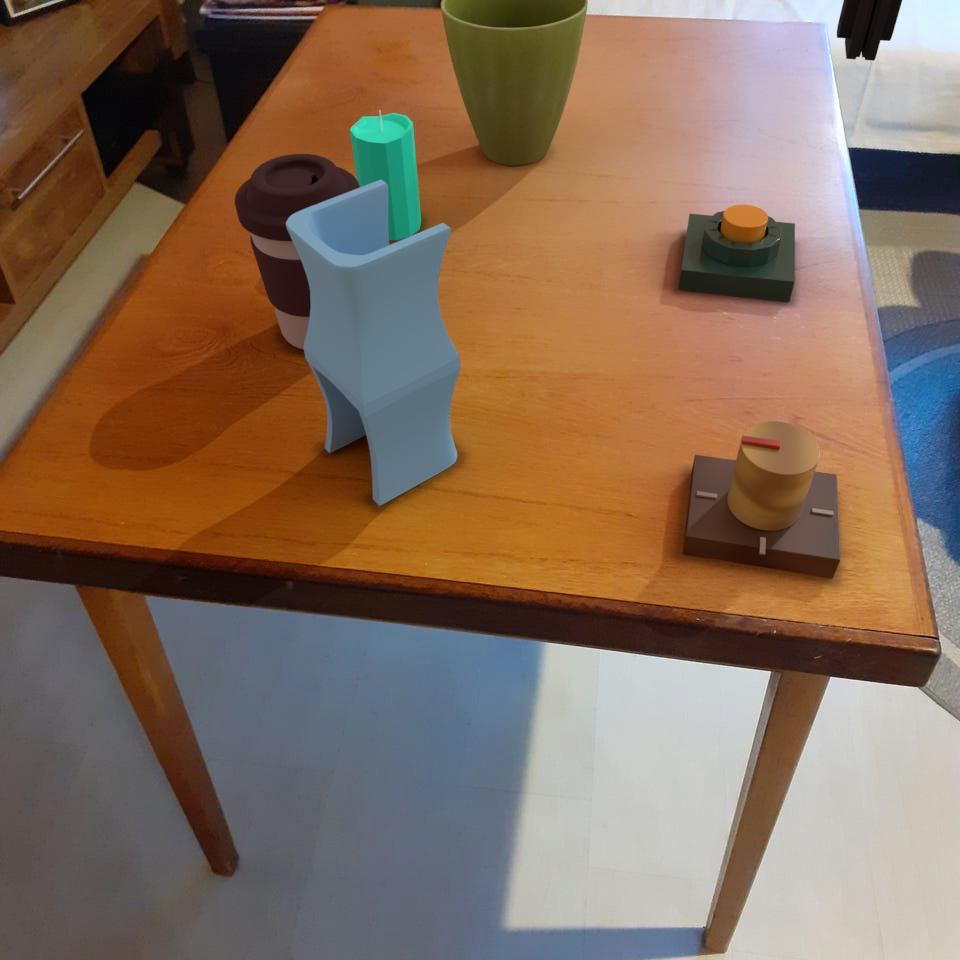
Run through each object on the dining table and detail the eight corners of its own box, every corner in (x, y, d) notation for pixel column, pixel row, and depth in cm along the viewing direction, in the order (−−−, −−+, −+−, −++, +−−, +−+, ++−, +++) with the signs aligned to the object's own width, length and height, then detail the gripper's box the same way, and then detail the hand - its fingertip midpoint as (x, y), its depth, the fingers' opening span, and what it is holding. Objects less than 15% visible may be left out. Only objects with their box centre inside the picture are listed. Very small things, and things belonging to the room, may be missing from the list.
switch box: (790, 243, 90) (799, 206, 87) (789, 302, 83) (799, 264, 80) (686, 233, 92) (692, 196, 89) (677, 290, 85) (683, 252, 82)
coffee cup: (244, 339, 82) (202, 183, 71) (317, 284, 87) (289, 132, 76) (328, 377, 78) (298, 218, 67) (400, 318, 83) (383, 162, 72)
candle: (430, 214, 96) (421, 100, 87) (408, 244, 92) (397, 128, 83) (377, 206, 97) (363, 93, 88) (353, 235, 93) (336, 120, 84)
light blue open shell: (465, 458, 71) (452, 227, 56) (379, 506, 67) (342, 274, 53) (407, 405, 75) (382, 178, 61) (324, 448, 72) (276, 218, 57)
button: (765, 223, 86) (768, 206, 85) (764, 246, 83) (767, 229, 82) (721, 219, 87) (724, 202, 85) (719, 241, 84) (722, 224, 83)
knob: (801, 483, 65) (821, 423, 61) (800, 536, 62) (821, 476, 57) (729, 473, 66) (743, 412, 62) (724, 524, 63) (739, 464, 58)
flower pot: (423, 146, 106) (412, -2, 95) (524, 109, 112) (525, -35, 100) (502, 197, 98) (501, 41, 86) (607, 154, 104) (618, 2, 92)
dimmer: (830, 487, 67) (837, 466, 66) (833, 585, 61) (841, 565, 60) (691, 467, 69) (695, 447, 68) (681, 561, 63) (685, 541, 62)
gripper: (798, -351, 41) (729, 68, 54) (1170, -356, 38) (1001, 86, 51) (798, -366, 46) (735, 20, 59) (1126, -372, 43) (983, 34, 56)
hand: (859, 50), depth 55 cm, fingers closed
